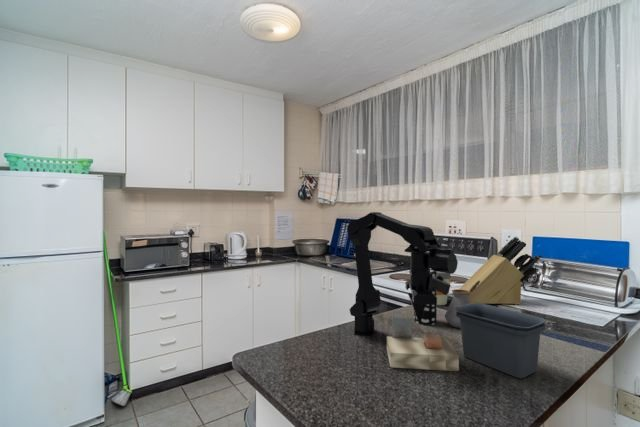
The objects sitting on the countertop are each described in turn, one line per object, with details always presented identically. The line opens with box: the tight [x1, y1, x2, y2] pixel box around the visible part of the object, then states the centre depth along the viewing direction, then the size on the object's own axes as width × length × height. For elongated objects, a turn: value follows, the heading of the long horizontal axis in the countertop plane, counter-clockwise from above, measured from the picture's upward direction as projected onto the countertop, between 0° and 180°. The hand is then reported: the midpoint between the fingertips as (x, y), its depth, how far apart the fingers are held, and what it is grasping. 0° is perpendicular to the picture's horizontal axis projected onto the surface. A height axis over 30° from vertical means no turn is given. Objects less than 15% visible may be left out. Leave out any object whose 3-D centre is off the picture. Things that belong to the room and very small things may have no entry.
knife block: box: [458, 236, 541, 305], centre depth 156 cm, size 11×35×31 cm, turn 89°
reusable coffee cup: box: [437, 271, 452, 306], centre depth 154 cm, size 13×13×15 cm
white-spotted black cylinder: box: [413, 268, 438, 326], centre depth 127 cm, size 8×8×20 cm
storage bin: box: [455, 303, 548, 379], centre depth 92 cm, size 21×16×14 cm
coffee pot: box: [444, 281, 483, 329], centre depth 126 cm, size 21×12×15 cm, turn 129°
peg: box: [423, 333, 443, 350], centre depth 94 cm, size 4×4×7 cm
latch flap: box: [391, 316, 413, 338], centre depth 100 cm, size 6×6×1 cm
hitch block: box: [386, 335, 460, 372], centre depth 94 cm, size 18×12×4 cm, turn 83°
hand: (419, 319), depth 99 cm, fingers closed
